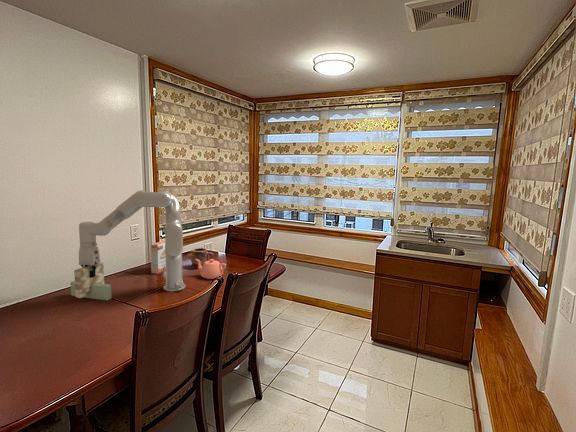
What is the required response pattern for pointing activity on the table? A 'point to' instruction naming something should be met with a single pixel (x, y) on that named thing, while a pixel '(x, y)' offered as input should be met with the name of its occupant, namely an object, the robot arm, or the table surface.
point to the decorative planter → (199, 256)
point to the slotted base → (95, 291)
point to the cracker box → (158, 257)
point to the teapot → (211, 269)
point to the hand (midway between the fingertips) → (89, 276)
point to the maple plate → (87, 279)
